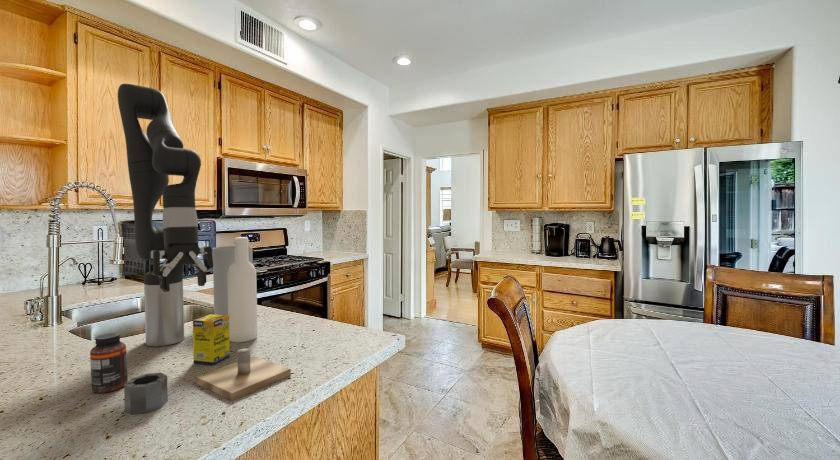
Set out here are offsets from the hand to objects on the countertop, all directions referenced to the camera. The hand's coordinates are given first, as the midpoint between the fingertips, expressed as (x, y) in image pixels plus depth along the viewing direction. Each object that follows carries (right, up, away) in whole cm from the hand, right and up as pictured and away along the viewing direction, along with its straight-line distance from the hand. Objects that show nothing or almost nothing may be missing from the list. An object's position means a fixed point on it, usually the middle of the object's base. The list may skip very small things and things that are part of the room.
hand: (184, 288), depth 97 cm
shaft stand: (+21, -18, -13) cm, 31 cm away
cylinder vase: (-5, -16, +37) cm, 40 cm away
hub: (+8, -19, -24) cm, 32 cm away
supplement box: (+8, -18, -2) cm, 20 cm away
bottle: (+8, -17, +15) cm, 24 cm away
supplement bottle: (-5, -19, -17) cm, 26 cm away
